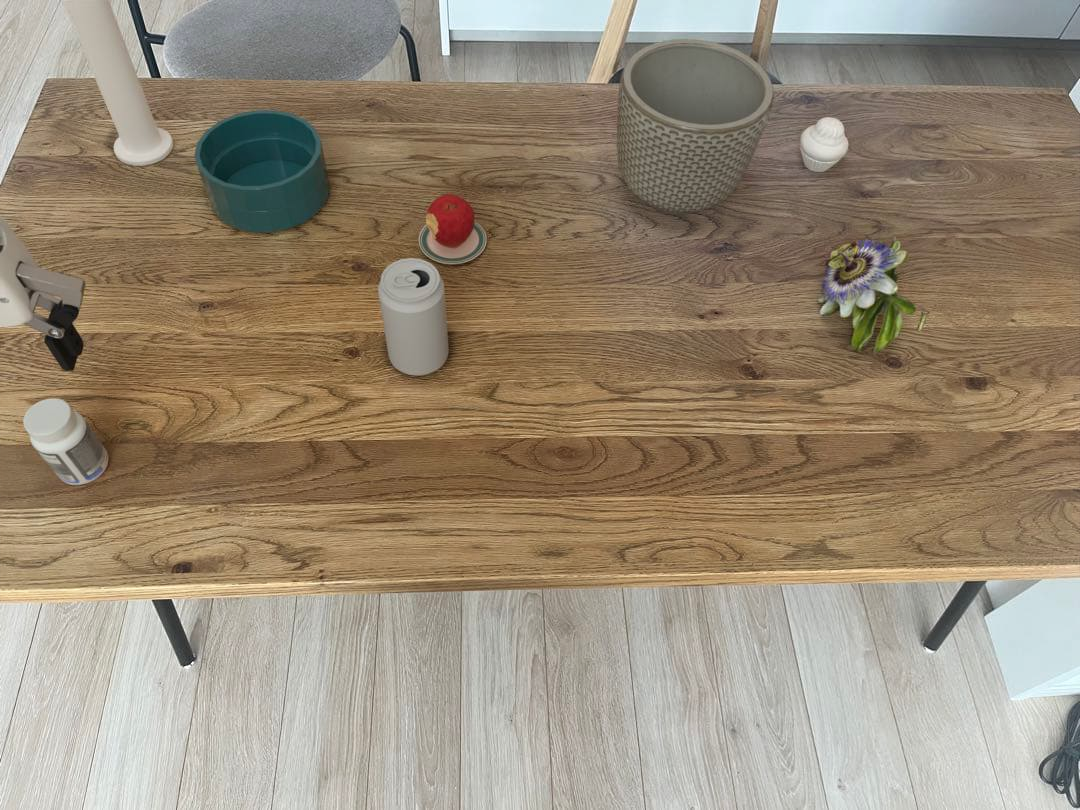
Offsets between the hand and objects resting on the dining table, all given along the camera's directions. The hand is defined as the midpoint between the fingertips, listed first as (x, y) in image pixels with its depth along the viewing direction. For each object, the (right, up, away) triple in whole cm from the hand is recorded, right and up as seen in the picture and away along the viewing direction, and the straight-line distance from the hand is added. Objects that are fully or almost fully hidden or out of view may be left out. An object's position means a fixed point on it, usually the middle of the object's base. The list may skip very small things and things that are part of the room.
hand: (11, 360), depth 70 cm
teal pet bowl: (+10, +22, +36) cm, 43 cm away
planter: (+60, +23, +40) cm, 75 cm away
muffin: (+79, +28, +44) cm, 95 cm away
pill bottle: (-1, -10, +13) cm, 16 cm away
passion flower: (+79, +7, +29) cm, 85 cm away
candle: (-7, +29, +40) cm, 50 cm away
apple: (+33, +15, +33) cm, 49 cm away
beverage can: (+30, +1, +23) cm, 38 cm away
